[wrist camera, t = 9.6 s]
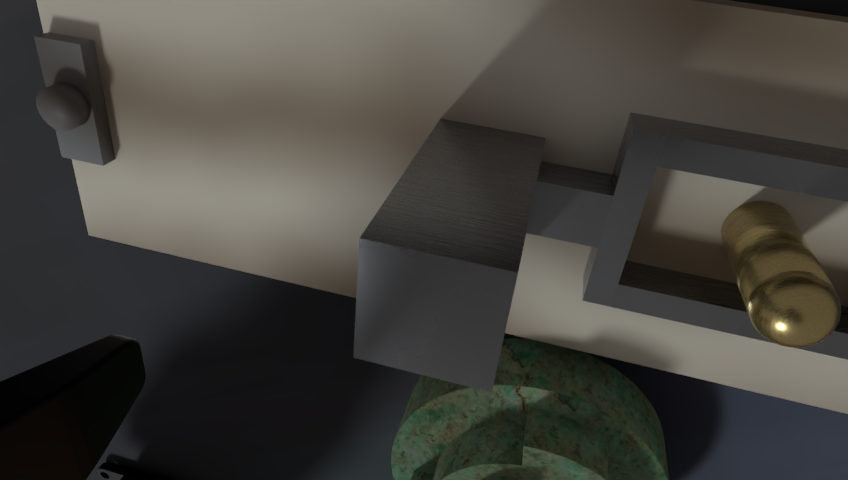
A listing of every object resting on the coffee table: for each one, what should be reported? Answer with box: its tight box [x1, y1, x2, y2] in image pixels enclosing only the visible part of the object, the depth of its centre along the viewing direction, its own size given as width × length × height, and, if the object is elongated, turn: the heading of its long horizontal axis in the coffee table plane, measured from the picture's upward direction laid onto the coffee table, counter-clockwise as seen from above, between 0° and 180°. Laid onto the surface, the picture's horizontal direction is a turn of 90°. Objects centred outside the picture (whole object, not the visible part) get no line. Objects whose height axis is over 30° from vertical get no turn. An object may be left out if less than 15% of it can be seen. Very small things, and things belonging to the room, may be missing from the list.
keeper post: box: [721, 201, 841, 348], centre depth 15 cm, size 2×2×4 cm
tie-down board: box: [34, 0, 848, 414], centre depth 18 cm, size 11×27×2 cm, turn 84°
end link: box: [353, 112, 848, 392], centre depth 14 cm, size 5×13×7 cm, turn 84°
